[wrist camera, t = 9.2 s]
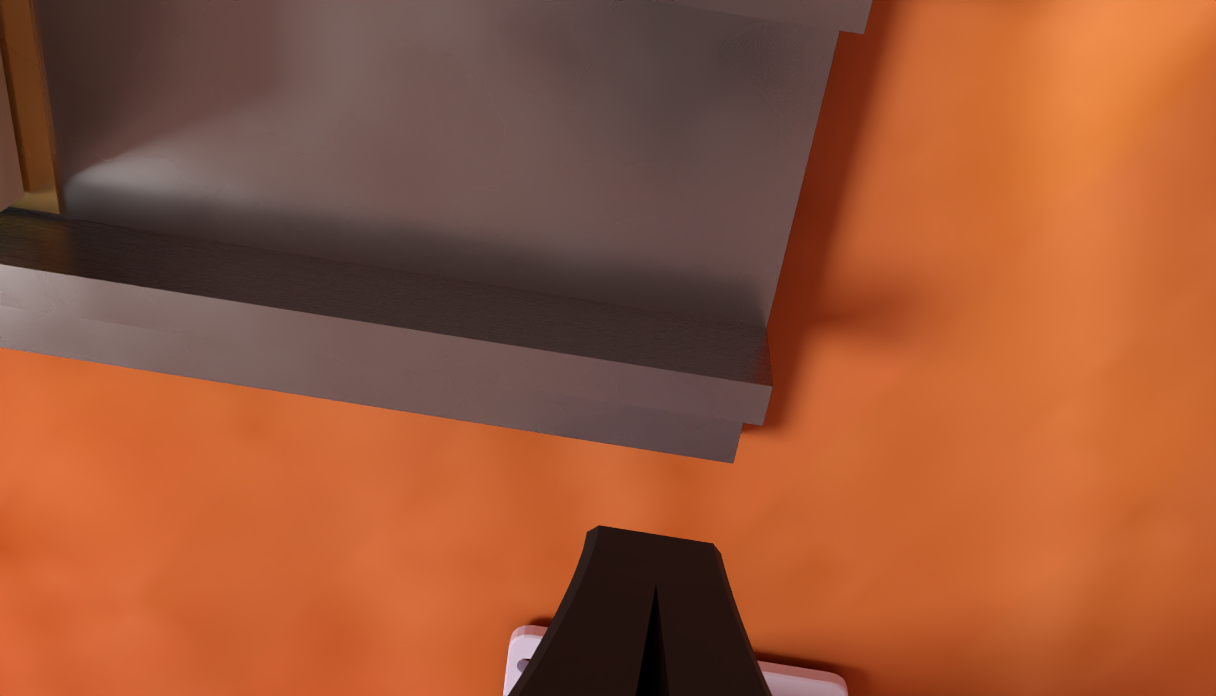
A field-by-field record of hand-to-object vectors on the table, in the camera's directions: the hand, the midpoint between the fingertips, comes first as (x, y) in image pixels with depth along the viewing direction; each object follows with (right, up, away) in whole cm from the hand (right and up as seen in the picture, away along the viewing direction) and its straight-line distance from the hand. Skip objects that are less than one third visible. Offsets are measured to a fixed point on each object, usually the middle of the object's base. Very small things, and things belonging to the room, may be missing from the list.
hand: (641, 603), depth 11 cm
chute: (-7, +8, +7) cm, 13 cm away
